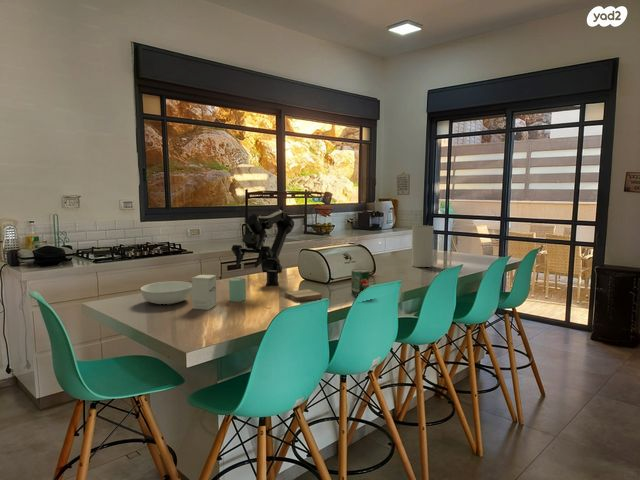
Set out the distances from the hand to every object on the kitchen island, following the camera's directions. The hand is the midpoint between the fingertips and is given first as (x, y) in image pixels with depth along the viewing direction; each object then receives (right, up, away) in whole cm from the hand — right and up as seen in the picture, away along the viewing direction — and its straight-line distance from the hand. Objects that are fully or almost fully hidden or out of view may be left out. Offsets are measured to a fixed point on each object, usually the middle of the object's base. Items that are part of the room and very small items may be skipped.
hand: (246, 266), depth 197 cm
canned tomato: (+51, -13, +4) cm, 53 cm away
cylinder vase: (+96, -5, +80) cm, 125 cm away
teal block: (-3, -14, -6) cm, 15 cm away
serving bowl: (-31, -15, -9) cm, 36 cm away
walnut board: (+25, -14, -2) cm, 29 cm away
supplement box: (-14, -16, -18) cm, 27 cm away
